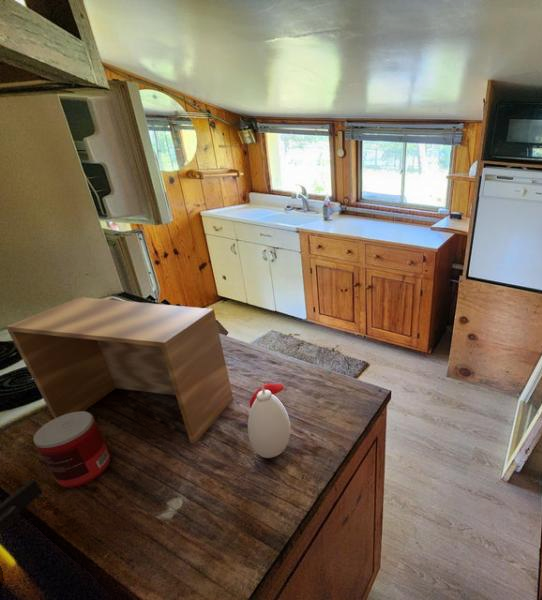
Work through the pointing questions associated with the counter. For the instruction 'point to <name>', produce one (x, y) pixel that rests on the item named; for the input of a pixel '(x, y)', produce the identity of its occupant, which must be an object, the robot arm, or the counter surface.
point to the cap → (271, 387)
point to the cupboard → (126, 356)
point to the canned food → (73, 449)
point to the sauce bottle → (268, 425)
